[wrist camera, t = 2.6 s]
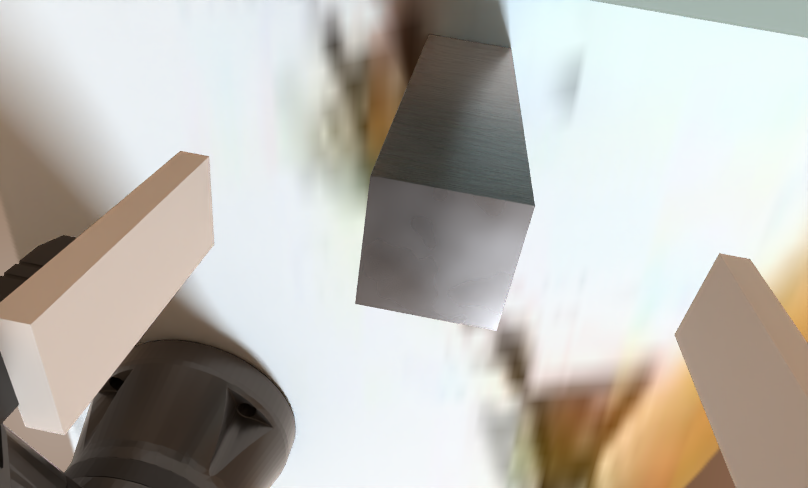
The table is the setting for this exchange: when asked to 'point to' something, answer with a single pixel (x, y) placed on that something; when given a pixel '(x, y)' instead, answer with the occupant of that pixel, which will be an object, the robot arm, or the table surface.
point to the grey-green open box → (734, 12)
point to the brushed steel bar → (449, 190)
